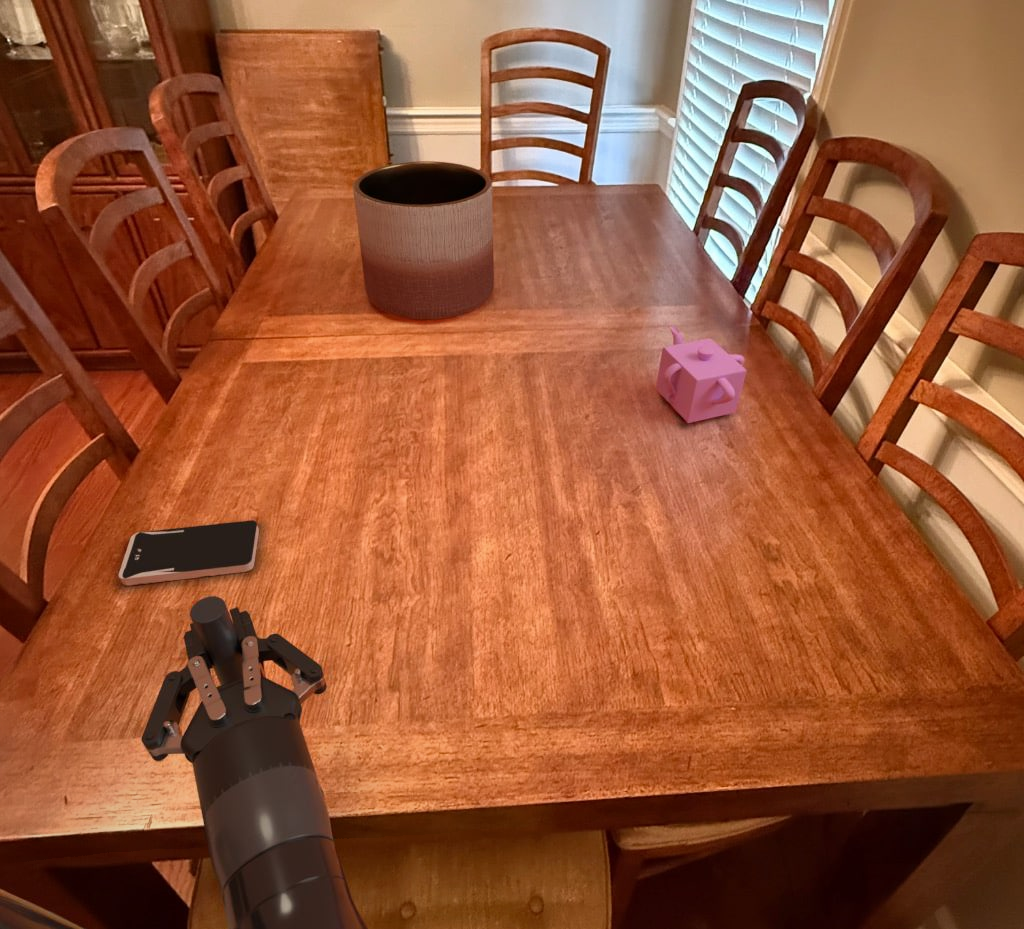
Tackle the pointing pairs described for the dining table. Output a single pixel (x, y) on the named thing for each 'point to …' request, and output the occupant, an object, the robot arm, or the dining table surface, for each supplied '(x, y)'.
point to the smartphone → (190, 552)
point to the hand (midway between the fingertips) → (216, 621)
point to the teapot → (700, 378)
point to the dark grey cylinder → (218, 638)
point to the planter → (426, 238)
